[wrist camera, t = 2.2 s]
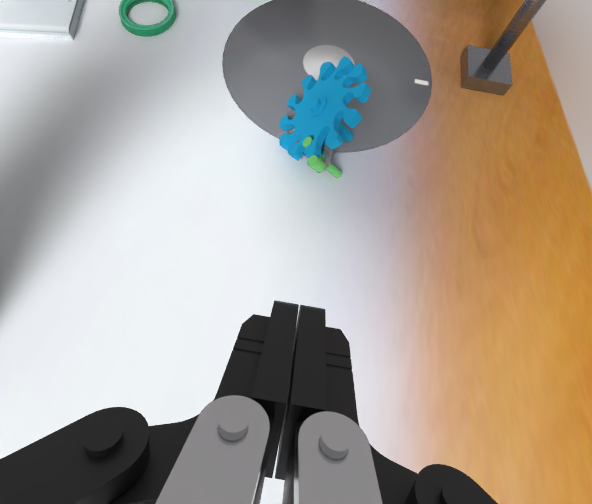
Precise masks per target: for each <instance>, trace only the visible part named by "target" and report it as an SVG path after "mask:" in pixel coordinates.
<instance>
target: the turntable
mask: <svg viewBox="0 0 592 504" xmlns="http://www.w3.org/2000/svg"><path fill="white" fill-rule="evenodd" d="M344 56H345V57H348V58H349V59H350V60H351V62H352V63H353V64H354V66H356V65H357V64H359V63H362V65H363V66H364V67H365V69H366V71H367V79H366V80H365V81H364V82H362V83H366V84H367V85H368V86H369V87H370V89H371V93H370V96H369V98H368V100H367V101H366V102H365V103H360V102H359V101H358V100H357V99H356V98H353V99H352V100H350V102H349V103H348V108H350V109H356V110H357V111H358V112H359V113H360V114H361V115H362V119H361V121H360V122H359V123H358V124H357V125H356V126H355V127H354V128H350V127H349V126H348V125H347V124H346V123H345V122H344V117H343V118H342V119H341V122H342V123H343V125H344V126H345V127H346V128H347V129H348V130H349V131H350V132H351V133H352V134H353V138H352V140H351V141H349V142H346V141H345V140H343V143H342V145H340V146H339V147H337V148H335V149H333V152H341V153H345V152H356V151H362V150H367V149H372V148H375V147H378V146H381V145H384V144H386V143H389V142H391V141H393V140H395V139H397V138H398V137H400V136H401V135H402V134H404V133H405V132H407V131H408V130H409V129H410V128H411V127H412V126H413V125H414V124H415V123H416V122H417V121H418V119H419V118H420V117H421V115H422V114H423V112H424V110H425V108H426V106H427V104H428V101H429V98H430V95H431V86H432V80H431V71H430V66H429V63H428V60H427V58H426V55H425V53H424V51H423V50H422V48H421V46H420V44H419V43H418V42H417V40H416V39H415V38H414V36H413V35H412V34H411V33H410V32H409V31H408V30H407V29H406V28H405V27H404V26H403V25H402V24H400V23H399V22H398V21H397V20H395V19H394V18H393V17H391V16H390V15H388V14H387V13H385V12H383V11H381V10H379V9H378V8H376V7H373V6H371V5H369V4H367V3H364V2H361V1H358V0H272V1H270V2H268V3H265V4H263V5H261V6H259V7H258V8H256V9H254V10H253V11H251V12H250V13H249V14H247V15H246V16H245V17H244V18H242V20H241V21H240V22H239V23H238V24H237V25H236V26H235V28H234V29H233V31H232V32H231V34H230V35H229V38H228V40H227V42H226V45H225V49H224V53H223V73H224V78H225V81H226V85H227V88H228V90H229V92H230V94H231V96H232V98H233V99H234V101H235V102H236V104H237V105H238V107H239V108H240V109H241V110H242V111H243V112H244V114H245V115H246V116H247V117H248V118H249V119H250V120H252V121H253V122H254V123H255V124H256V125H258V126H259V127H260V128H262V129H263V130H265V131H266V132H268V133H269V134H271V135H273V136H275V137H277V138H279V139H280V136H281V135H282V134H284V133H287V134H291V133H293V131H294V130H295V128H293V129H290V130H288V131H284V130H283V129H281V128H280V127H279V123H280V120H281V118H282V117H283V116H284V115H287V116H288V117H289V118H290V119H291V120H292V119H293V118H294V117H295V115H296V111H293V110H292V109H291V108H290V107H288V106H287V104H286V103H287V101H288V100H289V98H290V97H291V96H292V95H293V94H295V95H296V96H297V97H298V98H300V99H301V101H302V99H303V96H304V88H303V86H302V85H301V82H302V80H303V79H304V78H306V77H307V76H309V75H312V76H313V78H314V79H315V80H316V81H317V80H318V78H319V75H320V67H321V65H322V64H323V63H325V62H332V63H333V65H334V66H335V67H336V68H337V66H338V64H339V62H340V60H341V59H342V58H343V57H344ZM343 77H344V76H343ZM359 84H361V83H353V84H351V85H350V86H349V88H353V87H356V86H358V85H359ZM300 140H301V139H300ZM300 140H298V141H296V142H295V143H294V144H296V143H298V142H299V141H300Z"/></svg>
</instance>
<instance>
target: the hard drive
mask: <svg viewBox="0 0 592 504" xmlns="http://www.w3.org/2000/svg"><path fill="white" fill-rule="evenodd" d="M83 3H84V0H0V37H20V38H41V39H62V40H73V39H74V36H75V32H76V29H77V25H78V21H79V18H80V14H81V10H82V7H83Z"/></svg>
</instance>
